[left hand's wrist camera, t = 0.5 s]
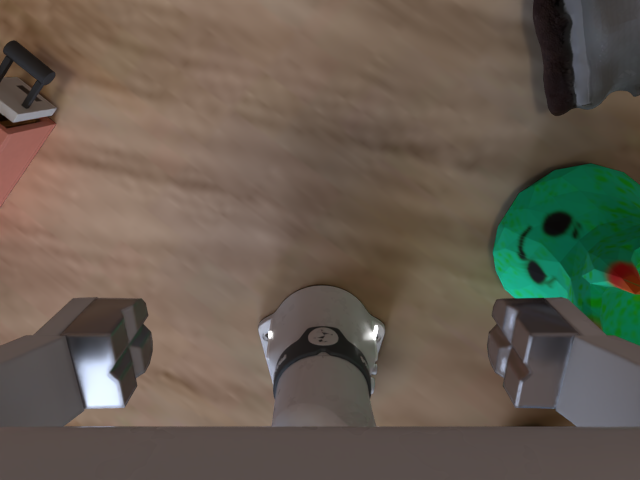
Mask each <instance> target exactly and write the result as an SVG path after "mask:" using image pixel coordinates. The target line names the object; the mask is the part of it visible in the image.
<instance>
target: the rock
mask: <svg viewBox="0 0 640 480" xmlns="http://www.w3.org/2000/svg"><path fill="white" fill-rule="evenodd" d="M533 20H534V25H535V30H536V34H537V37H538V40H539V43H540V46H541V50H542V56H543V64H544V75H543V81H544V88H545V94H546V98H547V104H548V108H549V110H550V112H551V113H552V114H553V115H555V116H559V115H562V114H565V113H566V112H568V111H569V110H571V109H573V108H582V109H587V110H589V109H593V108H595V107H596V106H598V105H599V104H601V103H602V101H603V100H604V99H605V98H606V97H607V96H608V95H609V94H610V93H612V92H614V91H620V90H622V91H628V92H630V93H631V94H632V95H633V96H634V97H636V96H639V95H640V0H534V5H533Z"/></svg>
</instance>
